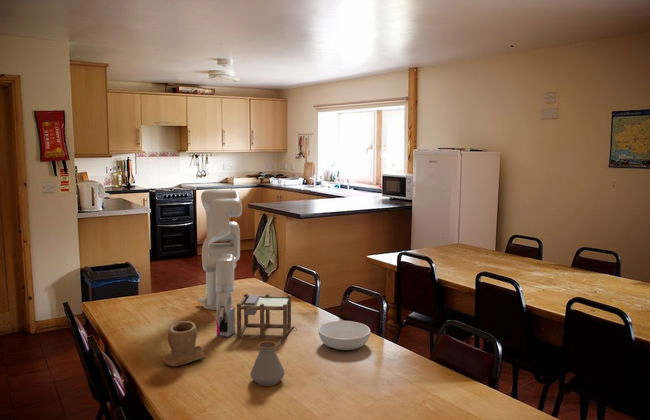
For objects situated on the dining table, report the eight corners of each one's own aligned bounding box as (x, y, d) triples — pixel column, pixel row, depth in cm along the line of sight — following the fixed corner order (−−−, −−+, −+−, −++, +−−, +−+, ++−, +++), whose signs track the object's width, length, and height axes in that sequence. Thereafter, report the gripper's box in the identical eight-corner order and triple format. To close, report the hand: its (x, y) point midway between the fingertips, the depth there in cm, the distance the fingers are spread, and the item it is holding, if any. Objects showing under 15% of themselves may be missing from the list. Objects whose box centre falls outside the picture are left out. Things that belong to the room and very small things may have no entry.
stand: (237, 338, 220) (236, 304, 218) (244, 325, 236) (244, 293, 234) (286, 339, 219) (286, 305, 217) (291, 326, 235) (291, 294, 233)
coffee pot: (270, 391, 172) (269, 347, 171) (243, 383, 179) (242, 340, 177) (307, 369, 190) (308, 328, 188) (282, 362, 196) (282, 322, 194)
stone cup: (173, 372, 187) (172, 331, 185) (159, 361, 196) (158, 322, 194) (212, 361, 196) (211, 322, 194) (197, 352, 205) (196, 314, 203)
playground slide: (244, 315, 220) (244, 302, 220) (250, 306, 233) (250, 294, 232) (285, 316, 220) (285, 303, 219) (288, 306, 232) (288, 295, 232)
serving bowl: (309, 351, 207) (309, 333, 206) (329, 333, 226) (329, 318, 226) (360, 359, 199) (360, 341, 199) (376, 340, 219) (377, 324, 218)
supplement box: (235, 333, 226) (235, 307, 225) (228, 337, 221) (228, 311, 219) (223, 331, 228) (223, 305, 227) (216, 336, 222) (215, 309, 221)
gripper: (221, 281, 231) (222, 321, 233) (210, 292, 213) (211, 335, 215) (238, 282, 230) (239, 321, 232) (229, 293, 213) (230, 335, 215)
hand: (225, 328), depth 224 cm, fingers open, 7 cm apart
